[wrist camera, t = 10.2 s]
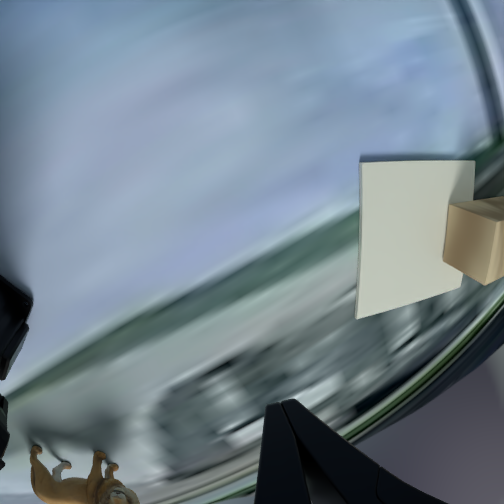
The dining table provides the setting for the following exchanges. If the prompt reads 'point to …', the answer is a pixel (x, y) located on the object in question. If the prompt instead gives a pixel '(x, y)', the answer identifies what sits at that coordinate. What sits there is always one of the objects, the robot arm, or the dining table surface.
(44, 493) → the lion figurine
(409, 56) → the dining table surface
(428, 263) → the stone tile
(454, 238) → the beech block
